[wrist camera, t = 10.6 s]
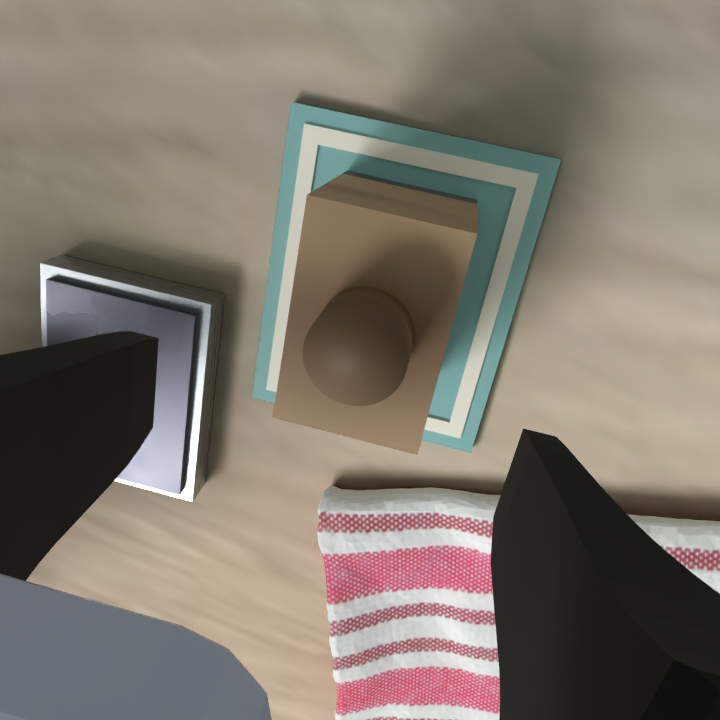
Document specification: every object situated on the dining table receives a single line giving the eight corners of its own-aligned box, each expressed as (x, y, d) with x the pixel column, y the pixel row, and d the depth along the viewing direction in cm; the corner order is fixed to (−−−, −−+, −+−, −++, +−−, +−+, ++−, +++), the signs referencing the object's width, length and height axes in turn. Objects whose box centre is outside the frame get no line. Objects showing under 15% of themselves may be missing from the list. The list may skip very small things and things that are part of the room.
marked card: (471, 448, 22) (470, 454, 22) (254, 393, 23) (250, 398, 23) (559, 158, 18) (561, 160, 18) (293, 101, 19) (290, 102, 19)
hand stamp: (430, 377, 21) (411, 489, 15) (315, 349, 22) (253, 447, 16) (477, 199, 19) (477, 250, 13) (347, 170, 19) (288, 206, 13)
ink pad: (204, 484, 25) (188, 506, 24) (63, 446, 26) (39, 466, 24) (224, 293, 22) (207, 307, 20) (61, 254, 22) (34, 265, 21)
